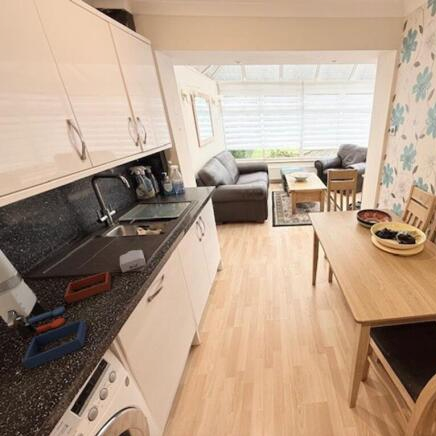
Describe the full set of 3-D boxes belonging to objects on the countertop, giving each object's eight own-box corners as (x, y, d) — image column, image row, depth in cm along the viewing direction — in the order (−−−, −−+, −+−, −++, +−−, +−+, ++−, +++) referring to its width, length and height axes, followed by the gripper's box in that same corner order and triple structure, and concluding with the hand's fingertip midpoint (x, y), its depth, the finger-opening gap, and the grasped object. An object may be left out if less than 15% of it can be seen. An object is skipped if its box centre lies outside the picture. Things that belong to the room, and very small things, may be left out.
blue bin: (29, 371, 67) (22, 362, 65) (39, 346, 74) (32, 337, 72) (83, 348, 72) (78, 339, 71) (87, 327, 80) (82, 318, 78)
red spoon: (26, 340, 76) (23, 337, 76) (29, 332, 79) (27, 329, 78) (64, 326, 81) (62, 322, 80) (66, 319, 84) (64, 315, 83)
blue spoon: (29, 327, 81) (26, 323, 81) (32, 320, 84) (30, 316, 83) (65, 314, 86) (63, 310, 85) (67, 307, 89) (65, 304, 88)
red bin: (69, 304, 90) (64, 296, 88) (73, 290, 97) (68, 283, 95) (110, 290, 96) (106, 282, 94) (111, 278, 103) (108, 270, 101)
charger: (143, 251, 121) (146, 265, 110) (122, 258, 117) (123, 273, 106) (140, 243, 119) (143, 257, 108) (118, 250, 115) (119, 265, 104)
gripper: (-2, 273, 75) (29, 312, 83) (-31, 308, 62) (10, 350, 69) (29, 264, 78) (56, 302, 86) (9, 295, 65) (43, 336, 73)
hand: (36, 323), depth 78 cm, fingers open, 9 cm apart
